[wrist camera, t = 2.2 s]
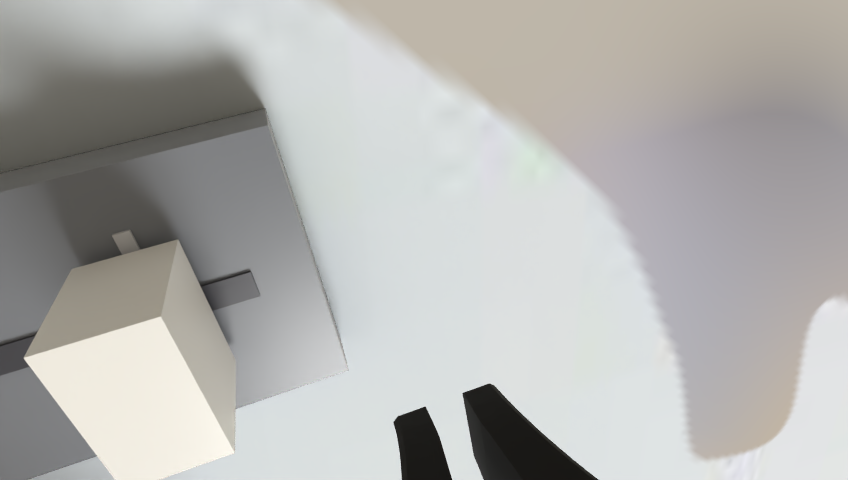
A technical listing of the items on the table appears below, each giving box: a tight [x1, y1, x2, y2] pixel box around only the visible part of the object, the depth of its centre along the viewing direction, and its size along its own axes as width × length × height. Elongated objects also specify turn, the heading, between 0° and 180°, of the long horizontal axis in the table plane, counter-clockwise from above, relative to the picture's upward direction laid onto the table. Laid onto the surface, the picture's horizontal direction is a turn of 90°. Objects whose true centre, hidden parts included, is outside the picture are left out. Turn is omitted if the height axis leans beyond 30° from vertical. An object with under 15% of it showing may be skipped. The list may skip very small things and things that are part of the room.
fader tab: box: [24, 239, 236, 480], centre depth 15 cm, size 5×3×4 cm, turn 9°
